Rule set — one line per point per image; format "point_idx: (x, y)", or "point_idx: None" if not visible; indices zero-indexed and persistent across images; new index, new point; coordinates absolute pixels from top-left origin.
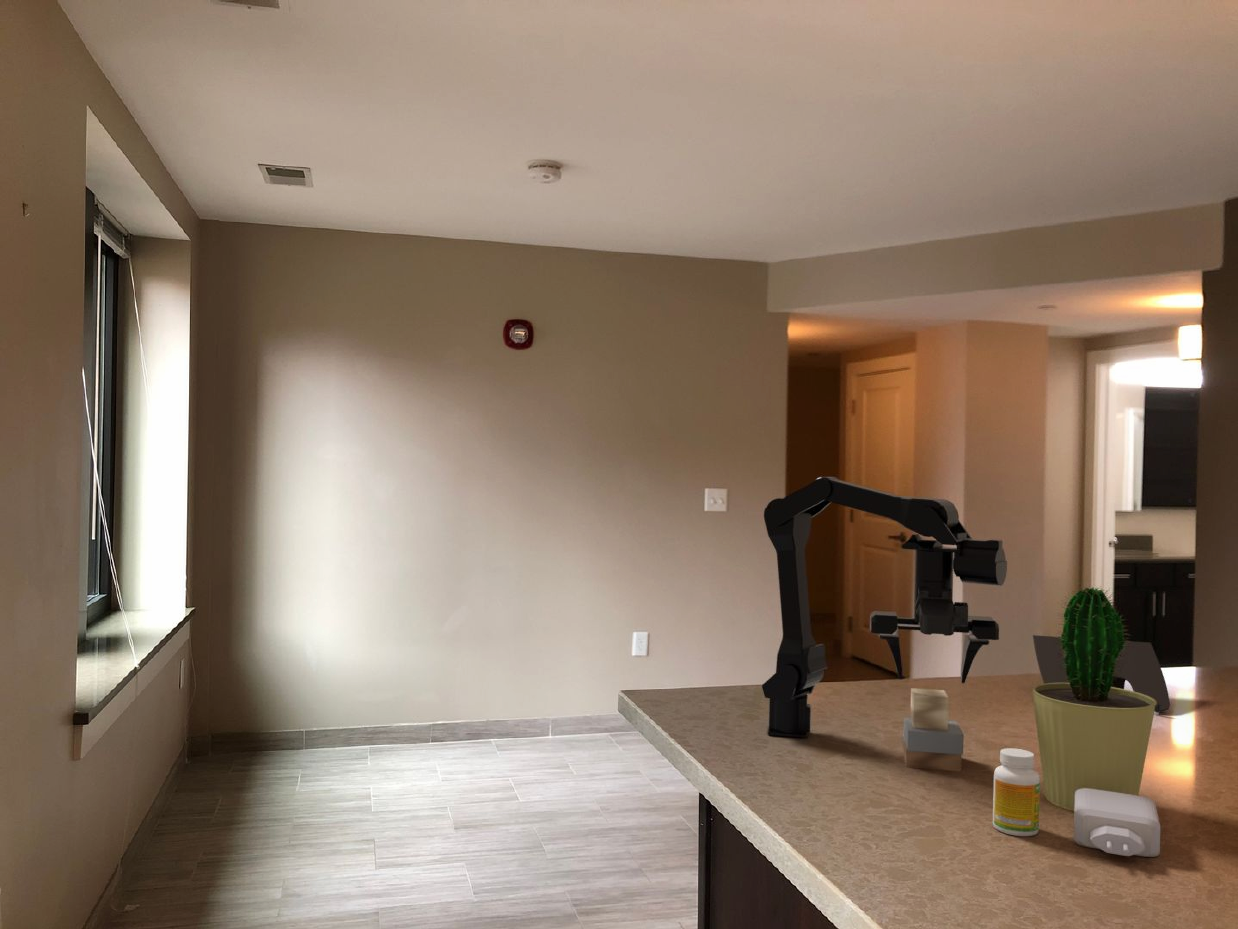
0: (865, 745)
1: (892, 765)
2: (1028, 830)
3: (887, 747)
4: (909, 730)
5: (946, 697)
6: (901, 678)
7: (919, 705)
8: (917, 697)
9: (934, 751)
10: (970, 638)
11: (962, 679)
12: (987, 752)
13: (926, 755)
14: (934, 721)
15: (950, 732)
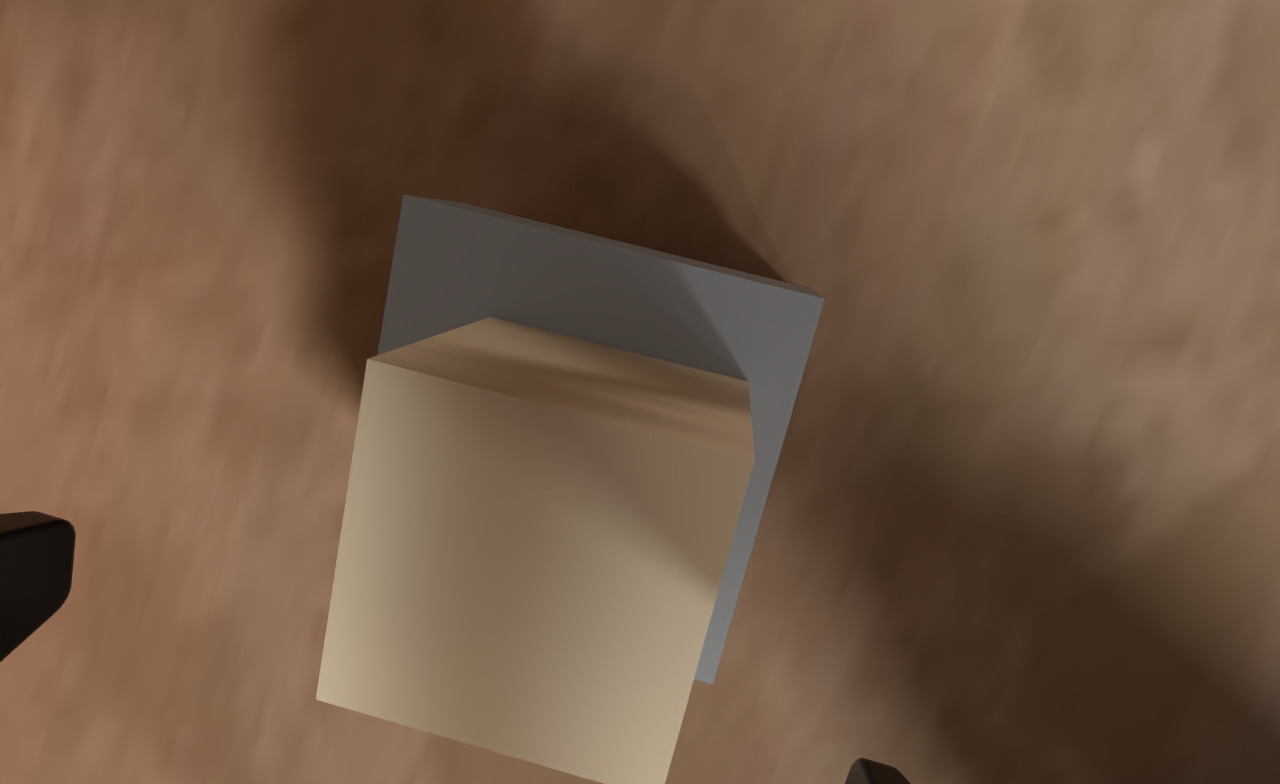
0: (893, 711)
1: (876, 322)
2: None
3: (772, 671)
4: (812, 300)
5: (387, 367)
6: (869, 764)
7: (695, 414)
8: (714, 444)
9: (635, 245)
10: None
11: (19, 526)
12: (243, 574)
13: None
14: (575, 353)
15: (487, 253)
